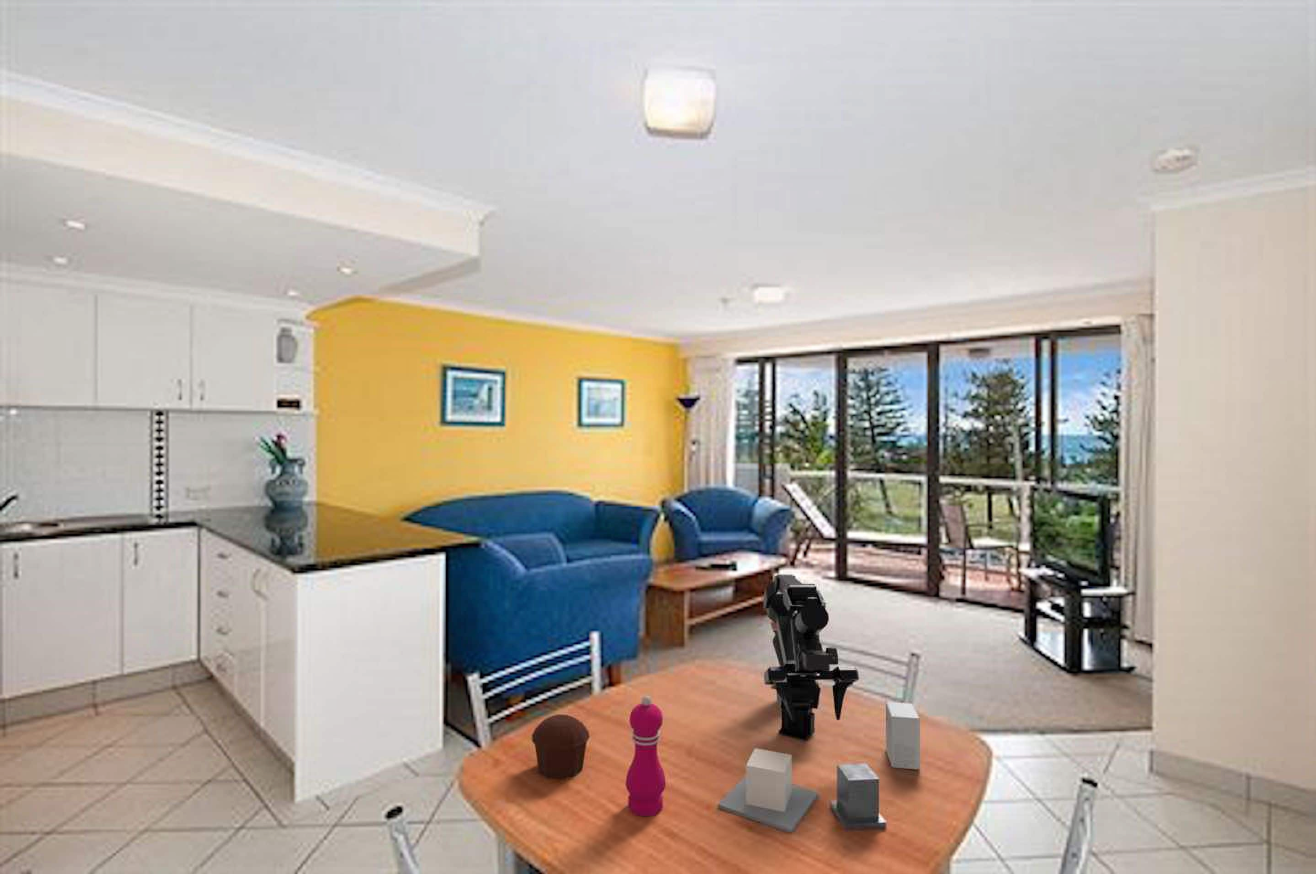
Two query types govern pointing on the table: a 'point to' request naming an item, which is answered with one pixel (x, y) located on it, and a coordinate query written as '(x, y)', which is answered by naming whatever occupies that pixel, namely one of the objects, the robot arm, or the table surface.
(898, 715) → the small box
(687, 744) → the table surface
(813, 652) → the robot arm
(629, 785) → the pepper mill
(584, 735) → the muffin
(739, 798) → the mat
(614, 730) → the table surface
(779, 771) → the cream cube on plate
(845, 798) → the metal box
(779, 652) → the bottle
